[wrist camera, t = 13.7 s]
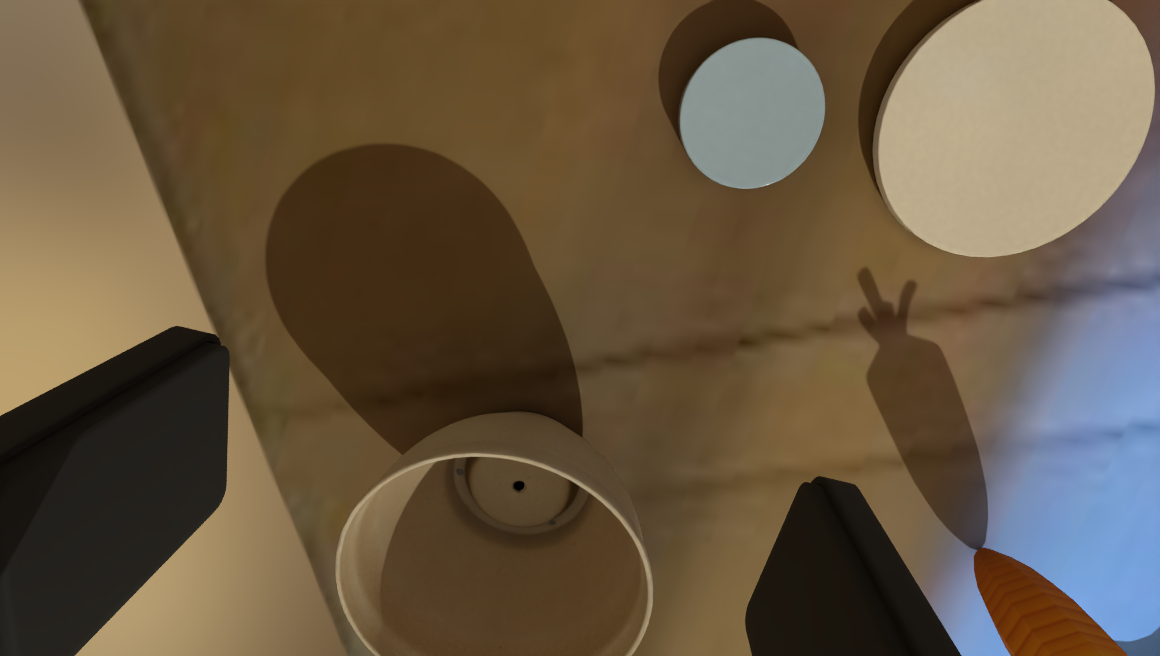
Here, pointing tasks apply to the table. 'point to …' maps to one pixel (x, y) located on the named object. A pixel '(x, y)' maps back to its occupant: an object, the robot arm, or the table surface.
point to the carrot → (1036, 611)
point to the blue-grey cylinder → (751, 112)
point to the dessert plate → (1013, 123)
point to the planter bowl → (496, 547)
